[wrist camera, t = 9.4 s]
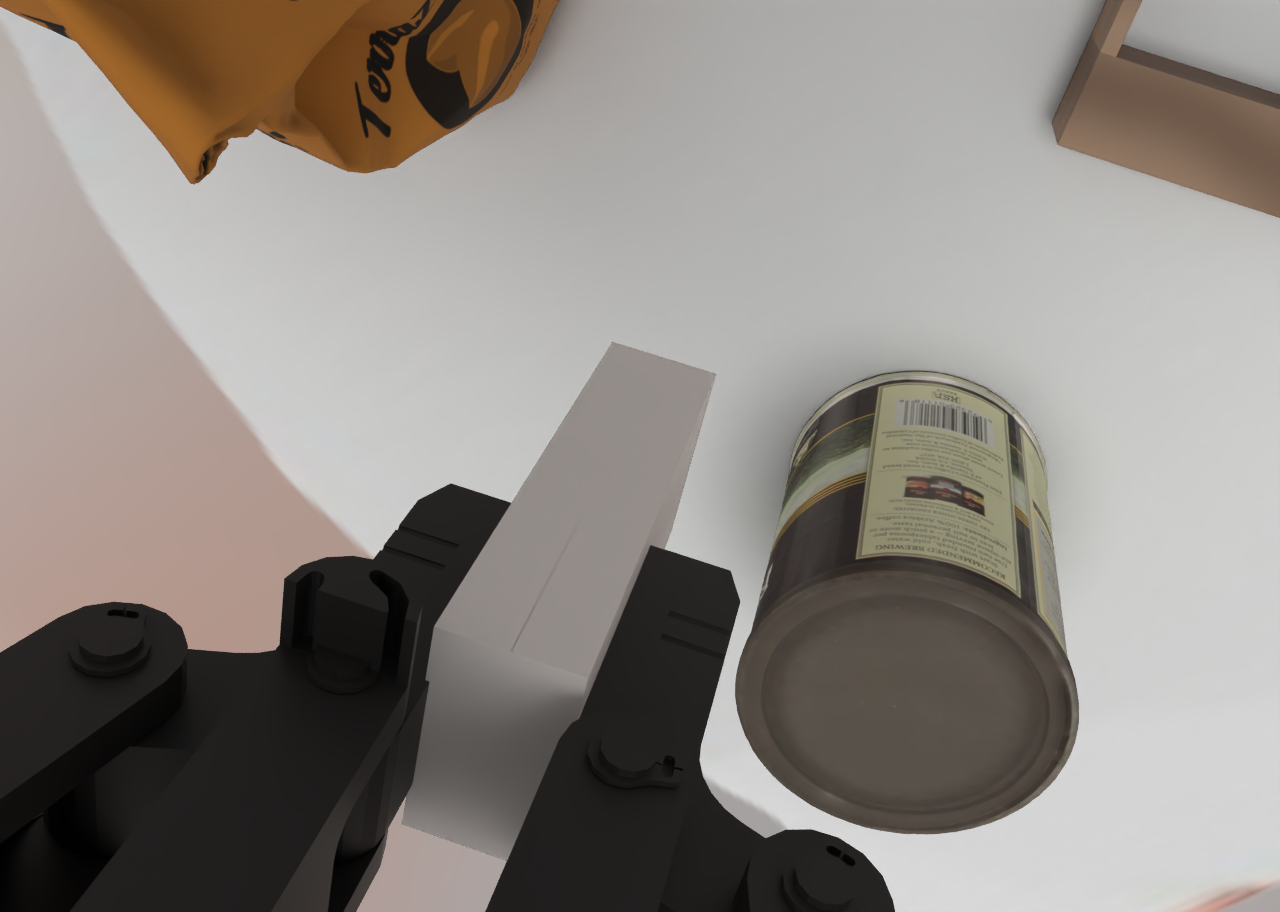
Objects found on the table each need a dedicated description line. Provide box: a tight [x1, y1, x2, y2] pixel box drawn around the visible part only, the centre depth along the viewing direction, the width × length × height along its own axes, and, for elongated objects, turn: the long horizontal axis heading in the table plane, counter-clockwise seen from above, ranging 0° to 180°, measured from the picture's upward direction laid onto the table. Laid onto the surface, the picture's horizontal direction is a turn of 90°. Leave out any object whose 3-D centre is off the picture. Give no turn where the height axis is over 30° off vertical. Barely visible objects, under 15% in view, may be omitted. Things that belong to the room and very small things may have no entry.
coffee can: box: [735, 372, 1079, 834], centre depth 43 cm, size 10×10×14 cm
